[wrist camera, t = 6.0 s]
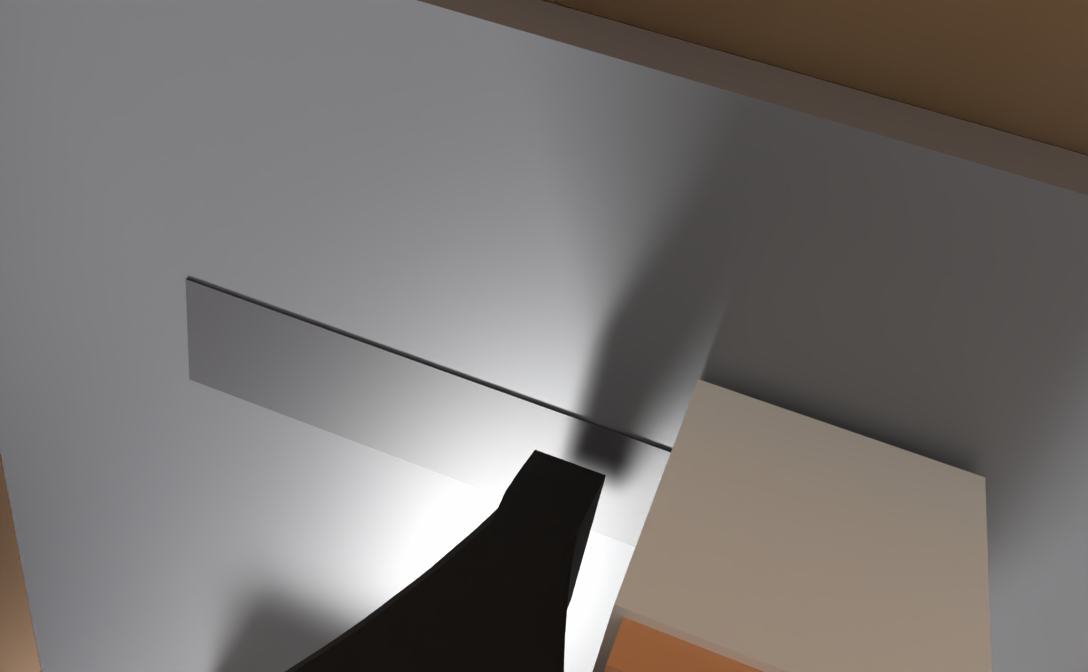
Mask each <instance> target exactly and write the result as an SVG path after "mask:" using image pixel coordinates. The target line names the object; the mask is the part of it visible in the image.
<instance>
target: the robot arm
mask: <svg viewBox="0 0 1088 672" xmlns="http://www.w3.org/2000/svg"><path fill="white" fill-rule="evenodd" d="M605 477H606V475H604V474H601V473H598V472H596V471H593V470H590V469H587V468H585V467H582V466H579V465H576V464H574V463H571V462H568V461H565V460H563V459H560V458H557V457H554V456H552V455H549V454H546V453H543V452H541V451H538V450H534V452H533V453H532V454H531V456H530V457H529V458H528V460H527V461H526V462H525V464H524V465H523V466H522V468H521V469H520V470H519V472H518V473H517V475H516V476H515V478H514V479H513V481H512V482H511V484H510V485H509V487H508V488H507V490H506V491H505V494H504V496H503V498H502V500H501V502H500V504H499V507H498V508H497V509H496V510H495V511H494V512H493V513H492V514H491V515H490V516H489V517H488V518H487V519H486V520H485V521H484V522H482V523H481V524H480V525H479V526H478V527H477V528H476V529H475V530H474V531H473V532H472V533H470V534H469V535H468V536H467V537H466V538H465V539H463V540H462V541H461V542H460V543H459V544H458V545H456V546H455V547H454V548H453V549H452V550H451V551H449V552H448V553H447V554H446V555H445V556H444V557H442V558H441V559H440V560H439V561H438V562H437V563H435V564H434V565H433V566H432V567H431V568H430V569H428V570H427V571H426V572H425V573H423V574H422V575H421V576H420V577H418V578H417V579H416V580H415V581H413V582H412V583H411V584H409V585H408V586H407V587H405V588H404V589H403V590H401V591H400V592H399V593H397V594H396V595H395V596H393V597H392V598H391V599H389V600H388V601H387V602H385V603H384V604H383V605H382V606H380V607H379V608H378V609H376V610H375V611H374V612H372V613H371V614H370V615H368V616H367V617H366V618H364V619H363V620H361V621H360V622H359V623H357V624H356V625H354V626H353V627H352V628H350V629H349V630H347V631H346V632H344V633H343V634H341V635H340V636H339V637H337V638H336V639H334V640H333V641H331V642H330V643H328V644H327V645H325V646H324V647H322V648H321V649H319V650H318V651H316V652H314V653H313V654H311V655H310V656H308V657H307V658H305V659H303V660H302V661H300V662H299V663H297V664H296V665H294V666H292V667H291V668H289V669H288V670H286V671H285V672H564V654H565V632H566V618H567V609H568V606H569V604H570V601H571V598H572V595H573V591H574V588H575V584H576V580H577V577H578V573H579V570H580V566H581V563H582V559H583V555H584V552H585V548H586V545H587V541H588V538H589V534H590V531H591V527H592V523H593V520H594V516H595V513H596V509H597V506H598V502H599V498H600V495H601V491H602V488H603V484H604V481H605Z"/></svg>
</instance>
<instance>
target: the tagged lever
mask: <svg viewBox="0 0 1088 672" xmlns="http://www.w3.org/2000/svg"><path fill="white" fill-rule="evenodd" d="M593 672H992V669H991V638H990V607H989V577H988V546H987V515H986V485H985V477H982V476H980V475H977V474H974V473H971V472H968V471H965V470H962V469H959V468H956V467H953V466H950V465H947V464H945V463H942V462H939V461H936V460H933V459H930V458H927V457H924V456H921V455H918V454H915V453H912V452H910V451H907V450H904V449H901V448H898V447H895V446H892V445H889V444H886V443H883V442H880V441H877V440H875V439H872V438H869V437H866V436H863V435H860V434H857V433H854V432H851V431H848V430H845V429H842V428H839V427H837V426H834V425H831V424H828V423H825V422H822V421H819V420H816V419H813V418H810V417H807V416H804V415H802V414H799V413H796V412H793V411H790V410H787V409H784V408H781V407H778V406H775V405H772V404H769V403H767V402H764V401H761V400H758V399H755V398H752V397H749V396H746V395H743V394H740V393H737V392H734V391H732V390H729V389H726V388H723V387H720V386H717V385H714V384H711V383H708V382H705V381H702V380H699V379H698V381H697V384H696V387H695V389H694V392H693V395H692V397H691V400H690V403H689V405H688V408H687V411H686V413H685V416H684V419H683V421H682V424H681V427H680V429H679V432H678V435H677V437H676V440H675V443H674V445H673V448H672V451H671V453H670V456H669V459H668V461H667V464H666V467H665V469H664V472H663V475H662V478H661V480H660V483H659V486H658V488H657V491H656V494H655V496H654V499H653V502H652V504H651V507H650V510H649V512H648V515H647V518H646V520H645V523H644V526H643V528H642V531H641V534H640V536H639V539H638V542H637V544H636V547H635V550H634V552H633V555H632V558H631V560H630V563H629V566H628V568H627V571H626V574H625V577H624V579H623V582H622V585H621V587H620V590H619V593H618V595H617V598H616V601H615V603H614V606H613V609H612V612H611V616H610V619H609V622H608V625H607V628H606V631H605V634H604V637H603V641H602V644H601V647H600V650H599V653H598V656H597V659H596V662H595V665H594V669H593Z"/></svg>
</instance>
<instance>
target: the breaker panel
mask: <svg viewBox="0 0 1088 672" xmlns="http://www.w3.org/2000/svg"><path fill="white" fill-rule="evenodd" d="M698 379H699V380H702V381H705V382H708V383H711V384H714V385H717V386H720V387H723V388H726V389H729V390H732V391H734V392H737V393H740V394H743V395H746V396H749V397H752V398H755V399H758V400H761V401H764V402H767V403H769V404H772V405H775V406H778V407H781V408H784V409H787V410H790V411H793V412H796V413H799V414H802V415H804V416H807V417H810V418H813V419H816V420H819V421H822V422H825V423H828V424H831V425H834V426H837V427H839V428H842V429H845V430H848V431H851V432H854V433H857V434H860V435H863V436H866V437H869V438H872V439H875V440H877V441H880V442H883V443H886V444H889V445H892V446H895V447H898V448H901V449H904V450H907V451H910V452H912V453H915V454H918V455H921V456H924V457H927V458H930V459H933V460H936V461H939V462H942V463H945V464H947V465H950V466H953V467H956V468H959V469H962V470H965V471H968V472H971V473H974V474H977V475H980V476H982V477H985V485H986V515H987V546H988V577H989V607H990V638H991V669H992V672H1088V155H1084V154H1081V153H1077V152H1074V151H1070V150H1067V149H1063V148H1060V147H1056V146H1053V145H1049V144H1046V143H1042V142H1039V141H1035V140H1032V139H1028V138H1025V137H1021V136H1018V135H1014V134H1010V133H1007V132H1003V131H1000V130H996V129H993V128H989V127H986V126H982V125H979V124H975V123H972V122H968V121H965V120H961V119H958V118H954V117H951V116H947V115H944V114H940V113H937V112H933V111H930V110H926V109H923V108H919V107H916V106H912V105H908V104H905V103H901V102H898V101H894V100H891V99H887V98H884V97H880V96H877V95H873V94H870V93H866V92H863V91H859V90H856V89H852V88H849V87H845V86H842V85H838V84H835V83H831V82H828V81H824V80H821V79H817V78H814V77H810V76H806V75H803V74H799V73H796V72H792V71H789V70H785V69H782V68H778V67H775V66H771V65H768V64H764V63H761V62H757V61H754V60H750V59H747V58H743V57H740V56H736V55H733V54H729V53H726V52H722V51H719V50H715V49H712V48H708V47H704V46H701V45H697V44H694V43H690V42H687V41H683V40H680V39H676V38H673V37H669V36H666V35H662V34H659V33H655V32H652V31H648V30H645V29H641V28H638V27H634V26H631V25H627V24H624V23H620V22H617V21H613V20H610V19H606V18H602V17H599V16H595V15H592V14H588V13H585V12H581V11H578V10H574V9H571V8H567V7H564V6H560V5H557V4H553V3H550V2H546V1H543V0H0V453H1V459H2V464H3V469H4V475H5V480H6V485H7V491H8V496H9V502H10V507H11V512H12V518H13V523H14V528H15V534H16V539H17V545H18V550H19V555H20V561H21V566H22V571H23V577H24V582H25V588H26V593H27V598H28V604H29V609H30V614H31V620H32V625H33V631H34V636H35V641H36V647H37V652H38V657H39V663H40V668H41V672H285V671H286V670H288V669H289V668H291V667H292V666H294V665H296V664H297V663H299V662H300V661H302V660H303V659H305V658H307V657H308V656H310V655H311V654H313V653H314V652H316V651H318V650H319V649H321V648H322V647H324V646H325V645H327V644H328V643H330V642H331V641H333V640H334V639H336V638H337V637H339V636H340V635H341V634H343V633H344V632H346V631H347V630H349V629H350V628H352V627H353V626H354V625H356V624H357V623H359V622H360V621H361V620H363V619H364V618H366V617H367V616H368V615H370V614H371V613H372V612H374V611H375V610H376V609H378V608H379V607H380V606H382V605H383V604H384V603H385V602H387V601H388V600H389V599H391V598H392V597H393V596H395V595H396V594H397V593H399V592H400V591H401V590H403V589H404V588H405V587H407V586H408V585H409V584H411V583H412V582H413V581H415V580H416V579H417V578H418V577H420V576H421V575H422V574H423V573H425V572H426V571H427V570H428V569H430V568H431V567H432V566H433V565H434V564H435V563H437V562H438V561H439V560H440V559H441V558H442V557H444V556H445V555H446V554H447V553H448V552H449V551H451V550H452V549H453V548H454V547H455V546H456V545H458V544H459V543H460V542H461V541H462V540H463V539H465V538H466V537H467V536H468V535H469V534H470V533H472V532H473V531H474V530H475V529H476V528H477V527H478V526H479V525H480V524H481V523H482V522H484V521H485V520H486V519H487V518H488V517H489V516H490V515H491V514H492V513H493V512H494V511H495V510H496V509H497V508H498V507H499V504H500V502H501V500H502V498H503V496H504V494H505V491H506V490H507V488H508V487H509V485H510V484H511V482H512V481H513V479H514V478H515V476H516V475H517V473H518V472H519V470H520V469H521V468H522V466H523V465H524V464H525V462H526V461H527V460H528V458H529V457H530V456H531V454H532V453H533V452H534V450H538V451H541V452H543V453H546V454H549V455H552V456H554V457H557V458H560V459H563V460H565V461H568V462H571V463H574V464H576V465H579V466H582V467H585V468H587V469H590V470H593V471H596V472H598V473H601V474H604V475H606V477H605V481H604V484H603V488H602V491H601V495H600V498H599V502H598V506H597V509H596V513H595V516H594V520H593V523H592V527H591V531H590V534H589V538H588V541H587V545H586V548H585V552H584V555H583V559H582V563H581V566H580V570H579V573H578V577H577V580H576V584H575V588H574V591H573V595H572V598H571V601H570V604H569V606H568V609H567V618H566V632H565V654H564V672H593V669H594V665H595V662H596V659H597V656H598V653H599V650H600V647H601V644H602V641H603V637H604V634H605V631H606V628H607V625H608V622H609V619H610V616H611V612H612V609H613V606H614V603H615V601H616V598H617V595H618V593H619V590H620V587H621V585H622V582H623V579H624V577H625V574H626V571H627V568H628V566H629V563H630V560H631V558H632V555H633V552H634V550H635V547H636V544H637V542H638V539H639V536H640V534H641V531H642V528H643V526H644V523H645V520H646V518H647V515H648V512H649V510H650V507H651V504H652V502H653V499H654V496H655V494H656V491H657V488H658V486H659V483H660V480H661V478H662V475H663V472H664V469H665V467H666V464H667V461H668V459H669V456H670V453H671V451H672V448H673V445H674V443H675V440H676V437H677V435H678V432H679V429H680V427H681V424H682V421H683V419H684V416H685V413H686V411H687V408H688V405H689V403H690V400H691V397H692V395H693V392H694V389H695V387H696V384H697V381H698Z"/></svg>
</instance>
